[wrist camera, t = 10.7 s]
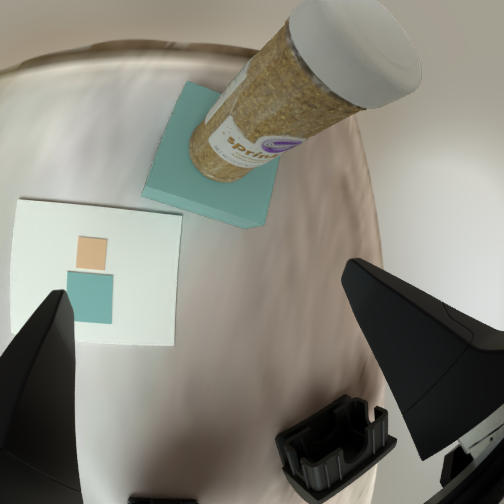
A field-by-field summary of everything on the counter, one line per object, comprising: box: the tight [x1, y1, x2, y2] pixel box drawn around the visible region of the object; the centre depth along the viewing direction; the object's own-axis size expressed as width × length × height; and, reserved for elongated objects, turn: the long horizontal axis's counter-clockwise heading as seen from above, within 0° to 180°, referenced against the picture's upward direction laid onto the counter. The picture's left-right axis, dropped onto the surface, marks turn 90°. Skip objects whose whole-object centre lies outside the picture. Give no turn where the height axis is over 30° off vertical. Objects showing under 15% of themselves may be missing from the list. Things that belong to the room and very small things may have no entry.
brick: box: [142, 81, 280, 229], centre depth 20 cm, size 8×8×3 cm
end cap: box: [275, 394, 397, 504], centre depth 23 cm, size 10×7×7 cm
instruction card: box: [10, 199, 182, 346], centre depth 17 cm, size 9×12×1 cm
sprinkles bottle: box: [189, 0, 422, 183], centre depth 12 cm, size 5×5×13 cm
